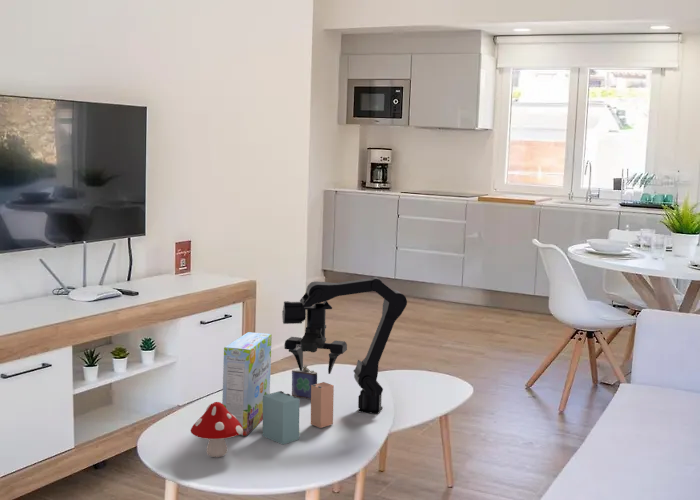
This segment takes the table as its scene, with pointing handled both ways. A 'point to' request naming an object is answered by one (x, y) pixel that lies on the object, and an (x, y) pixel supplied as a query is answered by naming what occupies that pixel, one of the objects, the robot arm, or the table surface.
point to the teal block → (281, 417)
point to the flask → (303, 382)
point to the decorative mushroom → (217, 428)
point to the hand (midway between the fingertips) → (315, 372)
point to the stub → (322, 404)
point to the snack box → (247, 378)
